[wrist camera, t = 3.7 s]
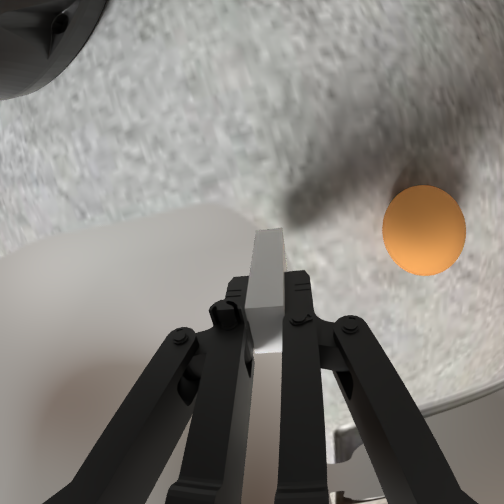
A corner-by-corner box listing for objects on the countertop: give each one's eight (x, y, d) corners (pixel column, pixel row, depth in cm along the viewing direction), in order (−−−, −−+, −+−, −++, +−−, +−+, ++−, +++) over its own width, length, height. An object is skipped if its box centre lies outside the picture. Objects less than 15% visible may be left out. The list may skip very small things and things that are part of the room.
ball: (372, 174, 17) (403, 210, 13) (444, 172, 17) (489, 205, 12) (371, 249, 20) (393, 300, 16) (437, 242, 19) (470, 287, 15)
